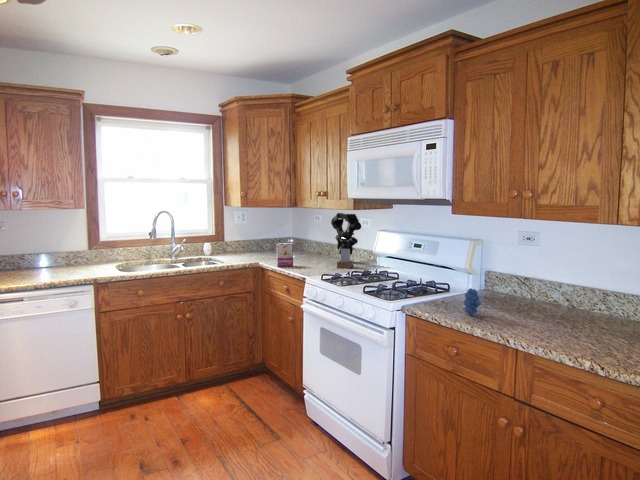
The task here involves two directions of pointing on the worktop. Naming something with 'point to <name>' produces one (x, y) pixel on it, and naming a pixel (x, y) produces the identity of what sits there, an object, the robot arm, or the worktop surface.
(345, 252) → the small plastic crate
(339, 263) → the wooden crate
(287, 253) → the candy bar box
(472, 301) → the grapes
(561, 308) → the worktop surface
